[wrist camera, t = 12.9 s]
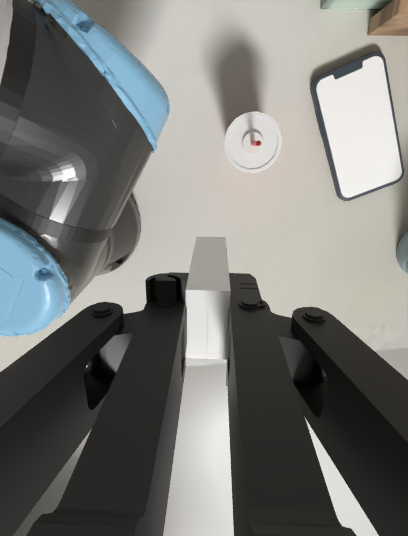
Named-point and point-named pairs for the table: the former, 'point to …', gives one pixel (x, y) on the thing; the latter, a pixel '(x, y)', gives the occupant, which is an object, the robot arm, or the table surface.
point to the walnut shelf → (391, 20)
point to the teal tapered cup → (403, 252)
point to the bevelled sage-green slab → (354, 4)
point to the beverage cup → (252, 142)
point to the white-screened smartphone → (358, 126)
